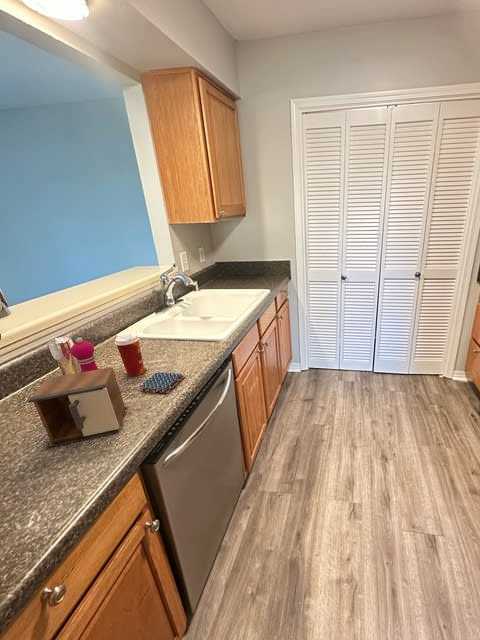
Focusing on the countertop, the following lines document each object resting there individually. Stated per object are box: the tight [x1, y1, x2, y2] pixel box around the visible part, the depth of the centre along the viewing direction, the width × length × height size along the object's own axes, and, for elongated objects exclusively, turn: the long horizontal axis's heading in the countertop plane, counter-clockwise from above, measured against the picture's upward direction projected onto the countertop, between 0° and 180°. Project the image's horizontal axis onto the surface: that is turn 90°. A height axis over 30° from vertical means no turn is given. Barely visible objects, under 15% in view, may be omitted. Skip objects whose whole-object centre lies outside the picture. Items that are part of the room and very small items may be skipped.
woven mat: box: [139, 371, 185, 394], centre depth 108 cm, size 10×11×2 cm
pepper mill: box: [71, 337, 100, 372], centre depth 101 cm, size 7×7×20 cm
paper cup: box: [114, 333, 145, 377], centre depth 114 cm, size 8×8×14 cm
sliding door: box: [68, 388, 120, 436], centre depth 82 cm, size 8×5×13 cm, turn 108°
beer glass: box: [47, 335, 81, 376], centre depth 112 cm, size 7×7×15 cm
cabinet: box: [27, 366, 126, 448], centre depth 87 cm, size 16×12×14 cm
